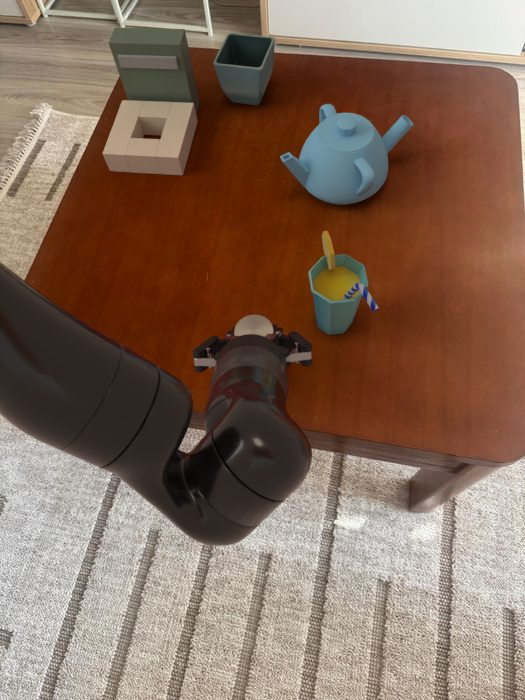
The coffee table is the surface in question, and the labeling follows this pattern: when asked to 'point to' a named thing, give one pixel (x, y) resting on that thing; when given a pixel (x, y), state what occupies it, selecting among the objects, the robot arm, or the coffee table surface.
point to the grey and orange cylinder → (253, 326)
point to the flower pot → (245, 66)
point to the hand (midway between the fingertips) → (255, 333)
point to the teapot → (345, 157)
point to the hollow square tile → (151, 154)
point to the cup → (337, 289)
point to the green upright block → (154, 64)
